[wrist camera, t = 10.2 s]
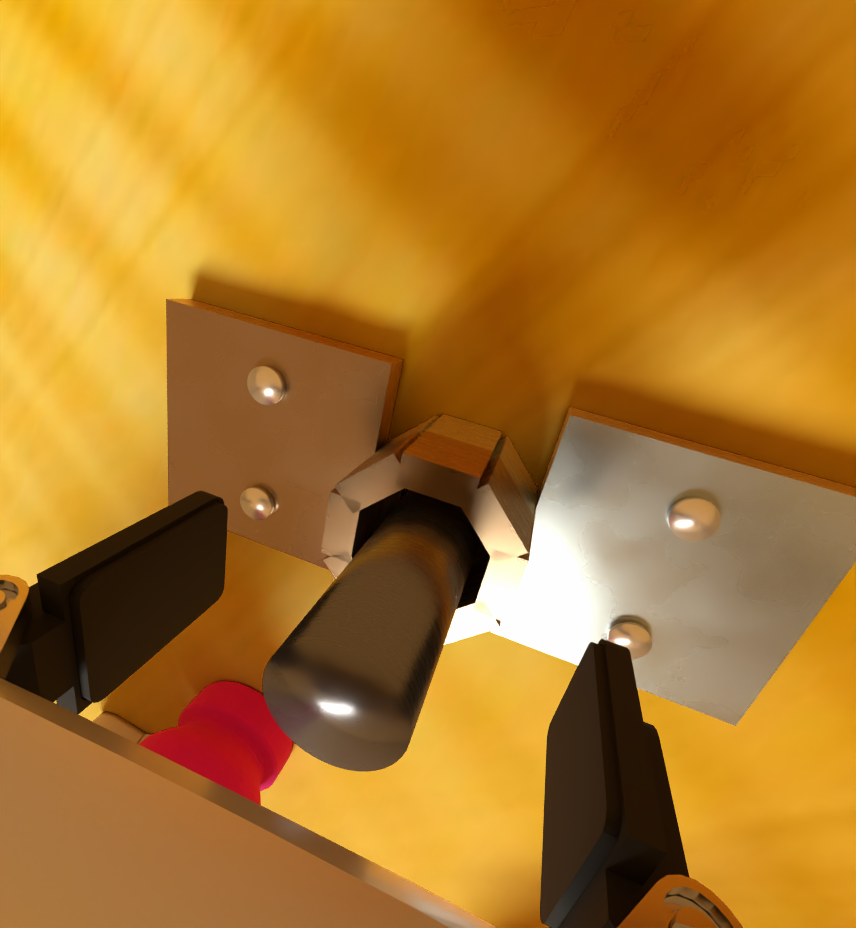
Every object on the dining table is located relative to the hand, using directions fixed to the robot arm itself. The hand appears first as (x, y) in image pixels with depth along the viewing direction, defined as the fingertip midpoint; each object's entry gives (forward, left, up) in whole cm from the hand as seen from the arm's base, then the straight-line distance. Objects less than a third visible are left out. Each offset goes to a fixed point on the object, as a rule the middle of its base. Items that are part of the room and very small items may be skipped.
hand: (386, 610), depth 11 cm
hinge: (0, 0, -7) cm, 7 cm away
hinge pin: (0, 0, -7) cm, 7 cm away
